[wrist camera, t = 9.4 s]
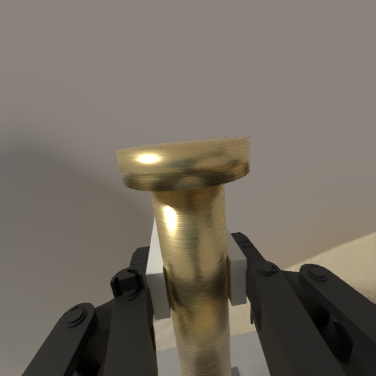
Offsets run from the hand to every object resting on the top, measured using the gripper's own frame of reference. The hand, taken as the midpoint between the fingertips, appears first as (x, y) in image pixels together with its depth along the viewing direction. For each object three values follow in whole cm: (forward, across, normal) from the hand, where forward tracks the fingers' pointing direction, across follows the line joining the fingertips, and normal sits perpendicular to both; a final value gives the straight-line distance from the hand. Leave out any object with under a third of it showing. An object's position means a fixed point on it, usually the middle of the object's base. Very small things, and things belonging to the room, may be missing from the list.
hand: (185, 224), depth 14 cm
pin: (-5, 0, -10) cm, 11 cm away
